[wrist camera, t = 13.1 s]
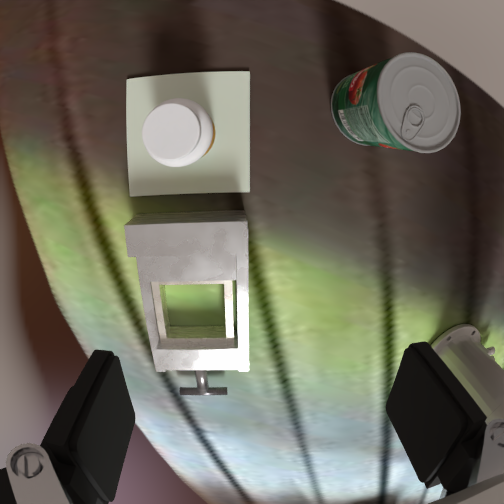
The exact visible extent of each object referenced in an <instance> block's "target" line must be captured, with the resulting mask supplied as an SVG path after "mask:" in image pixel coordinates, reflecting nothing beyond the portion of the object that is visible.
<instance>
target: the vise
mask: <svg viewBox="0 0 504 504" xmlns="http://www.w3.org/2000/svg"><path fill="white" fill-rule="evenodd" d="M124 227H125V236H126V245H127V252H128V257H136V259H137V267H138V274H139V281H140V287H141V294H142V300H143V306H144V312H145V318H146V323H147V329H148V334H149V339H150V344H151V349H152V354H153V358H154V363H155V368H156V372H166V370H195V374H196V381H197V388H188V387H180V395H227V387H209V386H208V378H207V370H236V369H239V371H249V326H248V227H247V218H246V214H245V210H229V211H193V212H166V213H144V214H136V215H135V216H134V217H133V218H132V219H131V220H130V221H129V222H128V223H126V224H125V225H124ZM236 279H237V323H238V341H237V331H234V328H233V295H232V280H236ZM179 284H224V293H225V317H226V326H170V323H169V316H168V308H167V301H166V293H165V285H179ZM238 360H239V364H238Z"/></svg>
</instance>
